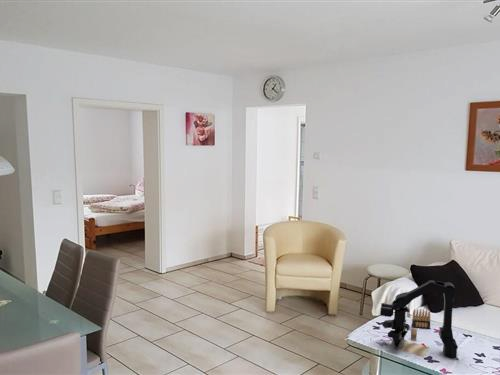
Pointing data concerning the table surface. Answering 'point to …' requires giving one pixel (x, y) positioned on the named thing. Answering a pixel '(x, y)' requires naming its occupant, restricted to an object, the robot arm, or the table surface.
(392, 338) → the box
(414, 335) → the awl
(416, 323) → the ammunition clip
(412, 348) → the board
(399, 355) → the table surface
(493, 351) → the table surface
